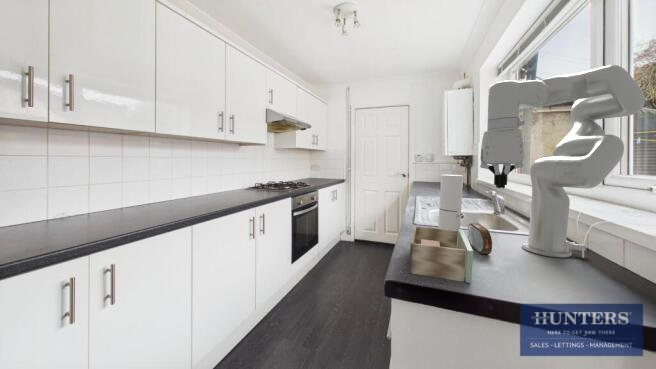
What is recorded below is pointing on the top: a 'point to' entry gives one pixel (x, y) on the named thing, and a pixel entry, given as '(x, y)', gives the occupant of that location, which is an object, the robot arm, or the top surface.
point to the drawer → (466, 246)
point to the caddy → (437, 254)
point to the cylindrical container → (450, 202)
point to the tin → (479, 238)
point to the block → (430, 242)
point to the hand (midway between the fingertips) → (500, 187)
